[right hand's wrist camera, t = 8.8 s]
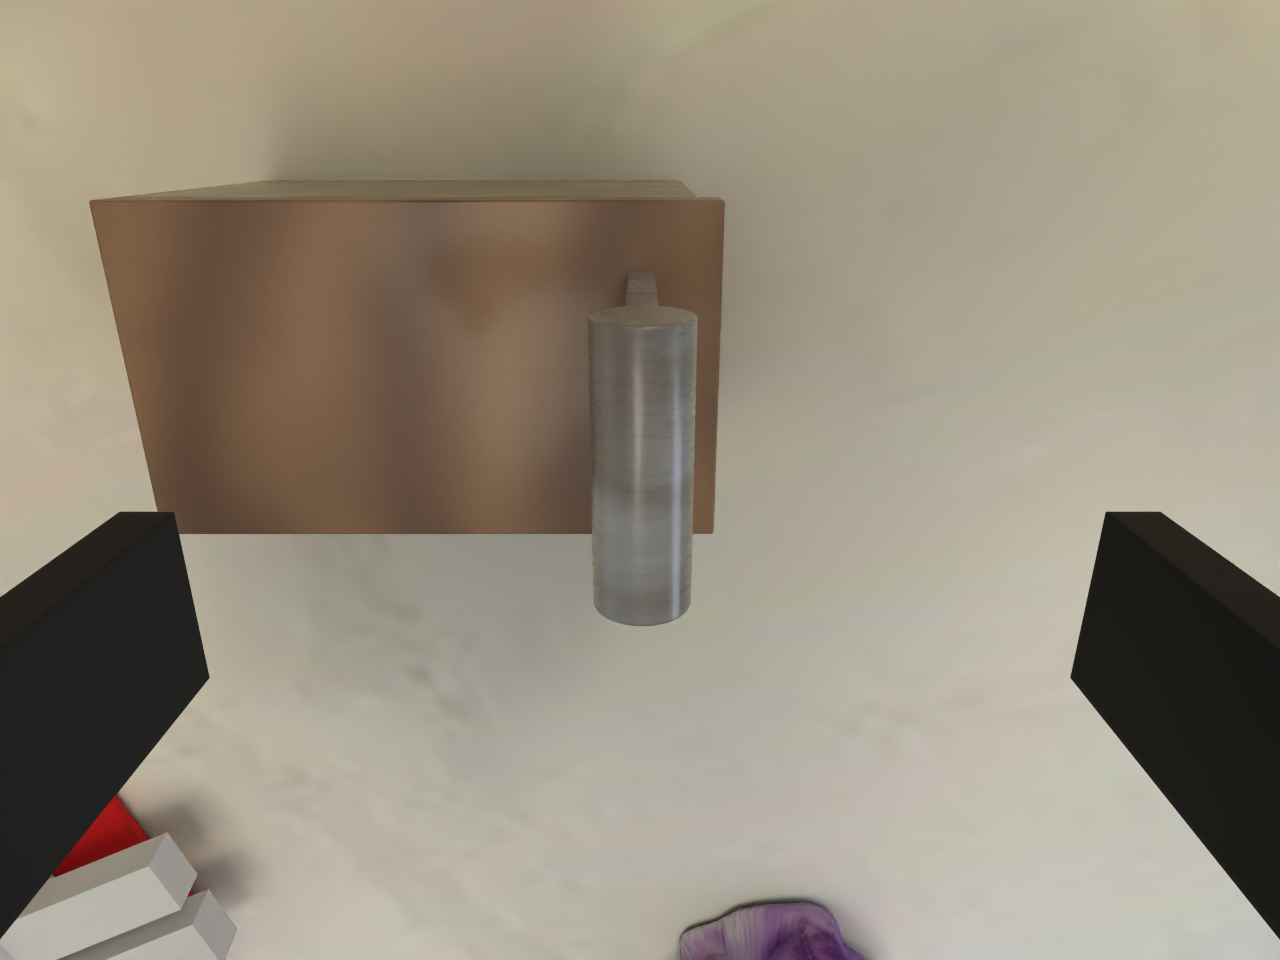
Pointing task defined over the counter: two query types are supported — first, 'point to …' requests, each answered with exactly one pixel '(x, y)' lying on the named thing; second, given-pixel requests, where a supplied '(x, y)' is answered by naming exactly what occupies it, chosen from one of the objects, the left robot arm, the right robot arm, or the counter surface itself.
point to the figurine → (769, 935)
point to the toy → (120, 902)
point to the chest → (433, 189)
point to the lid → (431, 370)
